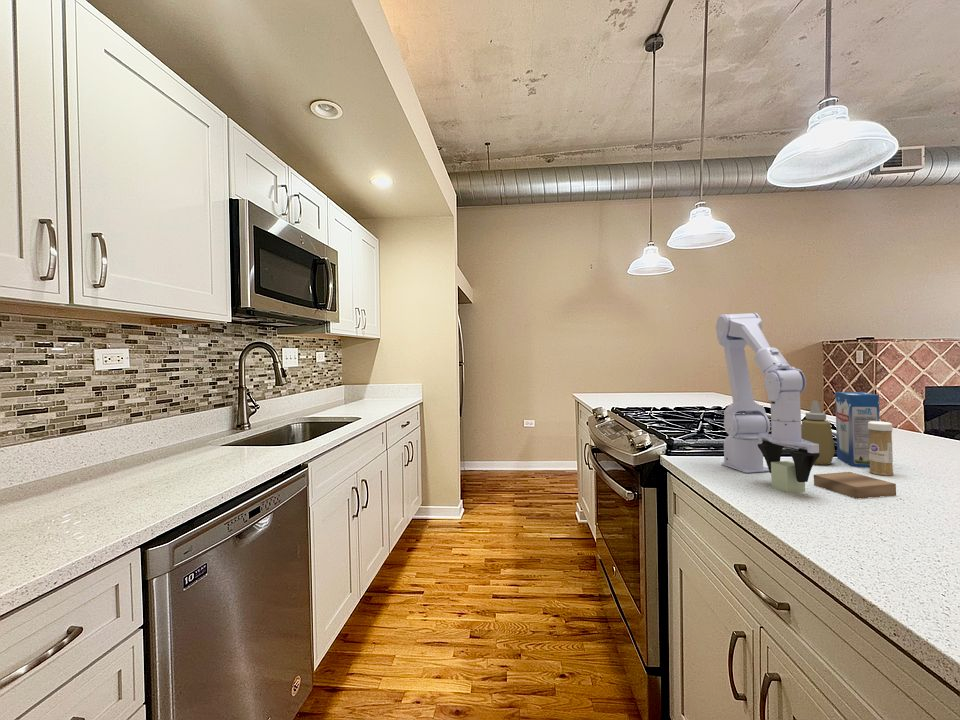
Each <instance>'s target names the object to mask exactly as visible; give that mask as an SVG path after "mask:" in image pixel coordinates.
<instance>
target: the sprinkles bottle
mask: <svg viewBox="0 0 960 720" xmlns="http://www.w3.org/2000/svg"><path fill="white" fill-rule="evenodd" d="M868 429H869V459H870V468H869V473H871V474H874V475H876V476H877V475H878V476H886V477H889V476H893V475H894V470H893V467H894V466H893V462H894V460H893V459H894V458H893V457H894V456H893V454H894V452H893V439H892V438H893V437H892V436H893V434H892V433H893V429H894V428H893V423H892V422H888V421H881V420H880V421H870V422H868Z"/></svg>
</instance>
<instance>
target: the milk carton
mask: <svg viewBox="0 0 960 720" xmlns="http://www.w3.org/2000/svg"><path fill="white" fill-rule="evenodd" d="M834 398H835V401H834V402H835V427H836V428H835V429H836V459H837V460H839V459H840V461H841V462H842V463H845V464H847V465H848V466H850V467H853V468H854V467H855V468H868V469H870V459H869V429H868V422H870V421H880V422H881V420H880V417H881V416H880V395H879V394H875V393H870V392H865V391H864V392H863V391H835V392H834Z"/></svg>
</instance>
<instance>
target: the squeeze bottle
mask: <svg viewBox="0 0 960 720" xmlns="http://www.w3.org/2000/svg"><path fill="white" fill-rule="evenodd" d="M821 410H822V409H821V407H820V404H819V401H818V400H812V402H811V406H810V410H809V412H805V419H804V420H801V434H802V439H803V440H806V441H809V442H812V443H815V444H819V453H820V456H819V457H818V458H817V460H816V461H815V463H814V465H818V464H820V465H821V466H827V465H830V464H831V463H832V461H833V458H834V457H835V456H834V455H835V453H836V449H835V443H834V438H833V430H832V425H831V422H829V421H828V420H827V414H826V413H824V412H822V411H821ZM820 465H819V466H820Z"/></svg>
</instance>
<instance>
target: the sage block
mask: <svg viewBox="0 0 960 720" xmlns="http://www.w3.org/2000/svg"><path fill="white" fill-rule="evenodd" d="M770 474H771V487H772V488H775V489H777V490H780V491H783V492H784V493H785V492H786V493H798V492H806V482H797V479H796V471H795V465H794V461H789V460H782V461H781V460H780V461H779V462H771V473H770Z"/></svg>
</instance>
